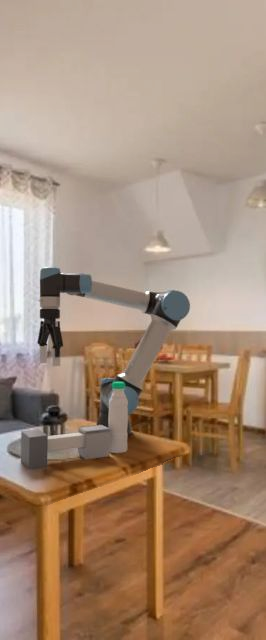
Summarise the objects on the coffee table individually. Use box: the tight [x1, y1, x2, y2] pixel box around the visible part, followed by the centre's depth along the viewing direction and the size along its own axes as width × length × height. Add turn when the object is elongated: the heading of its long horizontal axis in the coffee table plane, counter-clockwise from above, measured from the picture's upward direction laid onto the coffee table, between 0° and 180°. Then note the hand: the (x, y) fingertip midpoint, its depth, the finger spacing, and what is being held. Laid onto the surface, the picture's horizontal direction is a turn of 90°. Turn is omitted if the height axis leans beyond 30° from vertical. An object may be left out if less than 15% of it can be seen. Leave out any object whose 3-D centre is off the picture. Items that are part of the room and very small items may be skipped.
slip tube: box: [47, 432, 85, 453], centre depth 157 cm, size 19×4×4 cm, turn 120°
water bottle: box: [108, 382, 129, 454], centre depth 168 cm, size 7×7×25 cm
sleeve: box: [77, 424, 111, 460], centre depth 162 cm, size 9×7×10 cm
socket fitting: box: [20, 429, 49, 470], centre depth 152 cm, size 6×9×10 cm, turn 30°
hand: (49, 364), depth 176 cm, fingers open, 13 cm apart
